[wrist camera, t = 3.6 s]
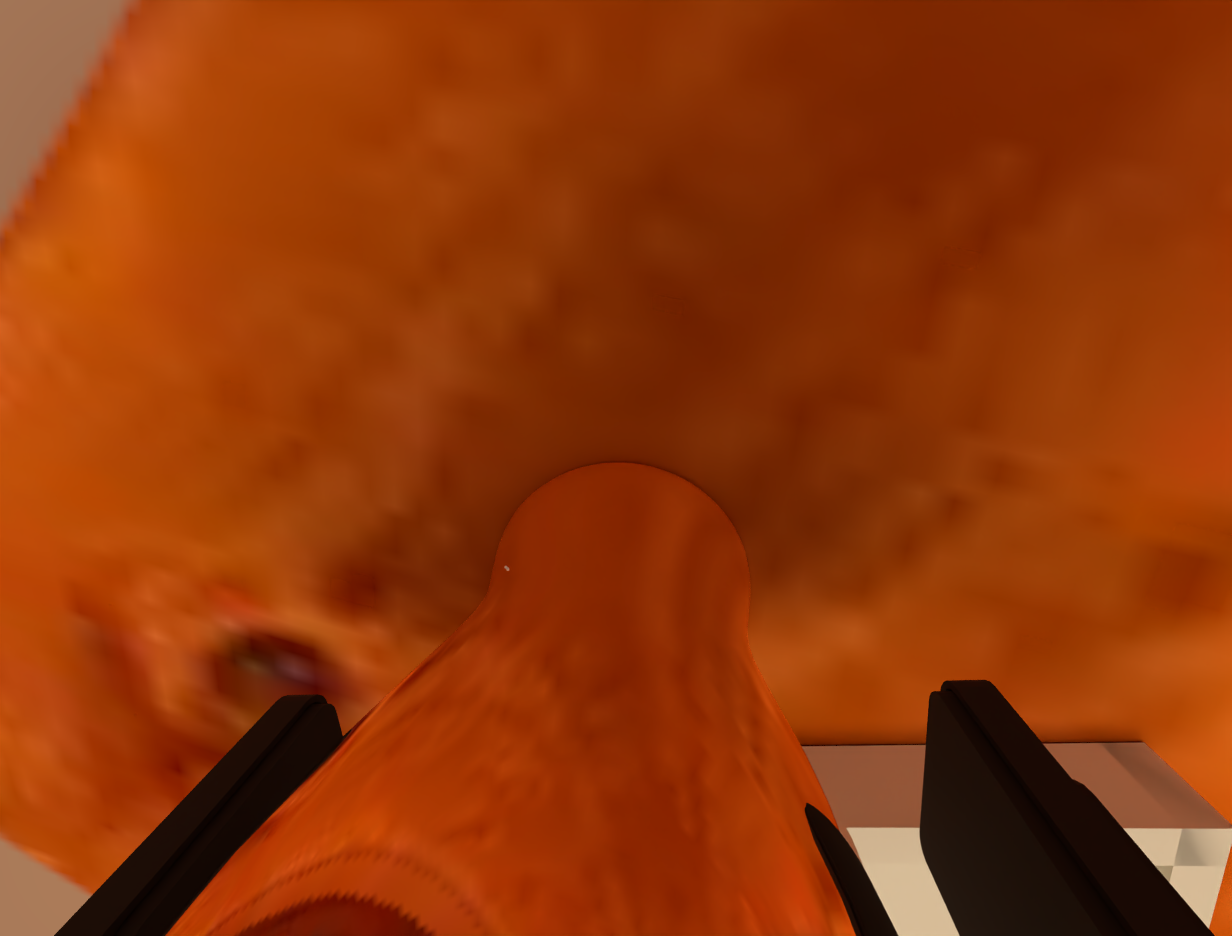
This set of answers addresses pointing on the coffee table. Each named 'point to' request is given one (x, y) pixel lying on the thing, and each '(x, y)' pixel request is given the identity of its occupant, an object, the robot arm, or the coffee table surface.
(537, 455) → the coffee table surface
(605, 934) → the beer glass
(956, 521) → the coffee table surface
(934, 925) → the tray
